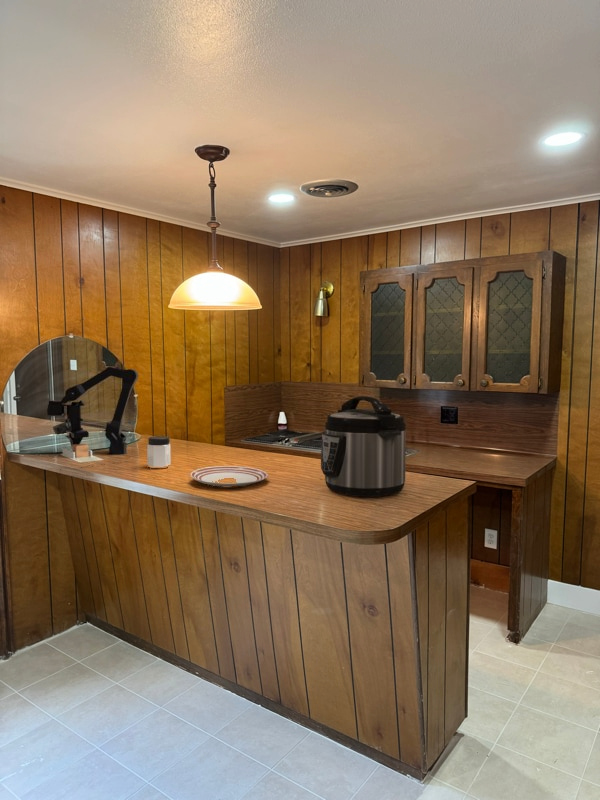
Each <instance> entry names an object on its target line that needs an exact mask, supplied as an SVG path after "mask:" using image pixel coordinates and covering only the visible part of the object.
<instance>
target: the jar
mask: <svg viewBox="0 0 600 800" xmlns="http://www.w3.org/2000/svg"><path fill="white" fill-rule="evenodd" d="M147 439H148V440H147V441H148V444H147V445H146V448H147V449H146V451H147V454H146V455H147V459H146V460H147V462H146V463H147V464H146V465H148V466H152V467H164V466H168V465H170V464H171V443H170V442H171V441H170V440H171V439H170V437H169V436H165V435H163V436H159V435H158V436H149V437H148V438H147ZM148 466H147V467H148Z"/></svg>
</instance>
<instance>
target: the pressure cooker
mask: <svg viewBox="0 0 600 800" xmlns="http://www.w3.org/2000/svg"><path fill="white" fill-rule="evenodd" d="M360 401H366V402H368V403H370V404H371V406H372V408H373V409H370V408H358V405H359V403H360ZM326 417H327V418H326V422H325V425H324V426H325V427H324V431H322V434H321V435H322V436H321V437H322V438H321V447H320V448H321V449H320V451H321V452H320V454H321V455H320V470H321V471H322V474H323V475H324V481H325V485H326V487H327V488H328V489H329V490H330V491H331V492H334V493H336V494H341V495H345V496H354V497H358V498H360V497H361V498H370V497H371V498H373V497H384V496H387V495H396V494H398V493H400V492H402V490H403V489H404V486H405V483H406V463H407V462H406V454H407V453H406V451H407V450H406V447H407V446H406V442H407V441H406V440H407V439H406V438H407V425H406V422H405V420H404V419H405V418H404V415H402V414H397V413H394V412H392V409H391V408H390V406H389V405H387V404H385V403H384V402H382V401H381V400H379V399H377V398H375V397H371V396H365V395H361V396H355V397H352V398H351V399H349V400H347V401H345V402H344V403H342V404H341V409H340V408H339V409H337V412H335V413H331V414H328V415H327V416H326Z"/></svg>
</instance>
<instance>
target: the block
mask: <svg viewBox="0 0 600 800" xmlns="http://www.w3.org/2000/svg"><path fill="white" fill-rule="evenodd" d="M71 449H72V450H71V451H73V452H75V458H81V457H89V450H90V449H89V444H86V443H80V444H74V445H72V447H71ZM88 449H89V450H88Z"/></svg>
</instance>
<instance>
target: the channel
mask: <svg viewBox="0 0 600 800" xmlns="http://www.w3.org/2000/svg"><path fill="white" fill-rule="evenodd" d="M88 450H89V457H81V458H75V452H73V451H72V450H71V449H67V448H65V447H62V453H60V454H59V455H61V456H63V457H65V458H67V459H70V460H73V461H76V462H77V463H86V462H87V463H88V462H96V461H104V459H103V458H100V457H98V456H95V455H93V450H91V449H89V448H88Z"/></svg>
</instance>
